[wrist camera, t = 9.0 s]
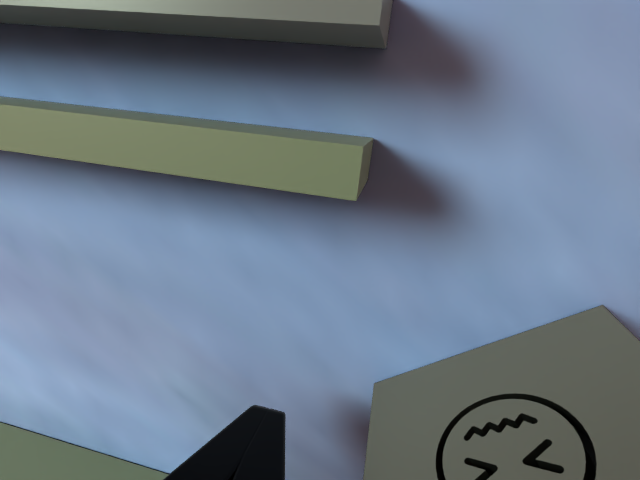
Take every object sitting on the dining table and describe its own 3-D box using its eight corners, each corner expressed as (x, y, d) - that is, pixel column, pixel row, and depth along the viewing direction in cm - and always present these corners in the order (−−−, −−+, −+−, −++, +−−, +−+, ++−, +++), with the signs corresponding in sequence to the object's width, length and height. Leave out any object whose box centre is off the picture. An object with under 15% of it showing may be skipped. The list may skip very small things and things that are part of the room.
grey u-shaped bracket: (317, 538, 11) (302, 613, 9) (-121, 398, 14) (-190, 436, 12) (373, 137, 7) (363, 147, 5) (-274, 65, 10) (-411, 56, 8)
